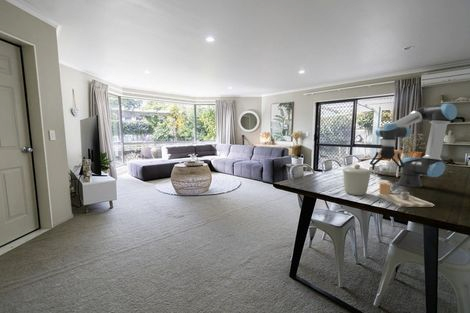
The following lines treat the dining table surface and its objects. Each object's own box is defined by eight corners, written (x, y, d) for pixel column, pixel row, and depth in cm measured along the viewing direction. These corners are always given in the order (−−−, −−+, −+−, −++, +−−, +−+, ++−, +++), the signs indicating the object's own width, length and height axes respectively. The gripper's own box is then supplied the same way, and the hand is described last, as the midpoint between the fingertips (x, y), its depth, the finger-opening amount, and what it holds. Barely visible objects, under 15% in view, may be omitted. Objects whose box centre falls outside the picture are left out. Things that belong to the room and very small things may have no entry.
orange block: (379, 190, 164) (379, 181, 163) (388, 192, 161) (389, 182, 160) (379, 193, 157) (380, 183, 156) (389, 194, 154) (390, 184, 153)
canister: (376, 197, 148) (378, 166, 146) (349, 197, 148) (351, 166, 145) (360, 190, 166) (362, 162, 164) (336, 190, 166) (338, 162, 163)
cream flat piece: (407, 196, 150) (408, 188, 149) (434, 206, 130) (435, 196, 129) (378, 196, 150) (379, 187, 149) (400, 206, 130) (400, 196, 129)
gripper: (367, 145, 158) (365, 174, 160) (411, 147, 145) (408, 178, 148) (367, 144, 164) (365, 172, 167) (409, 146, 152) (406, 176, 154)
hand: (385, 175), depth 157 cm, fingers open, 13 cm apart
